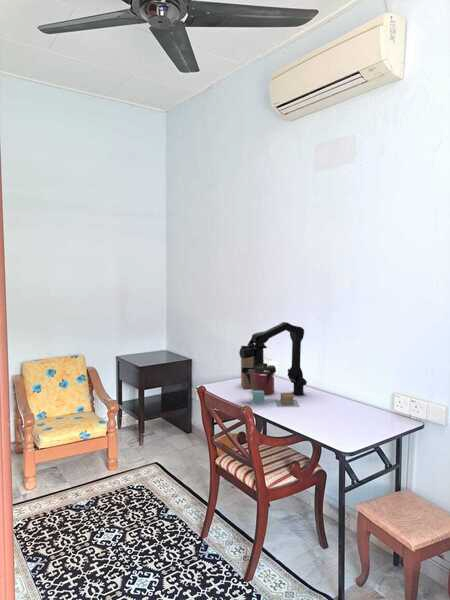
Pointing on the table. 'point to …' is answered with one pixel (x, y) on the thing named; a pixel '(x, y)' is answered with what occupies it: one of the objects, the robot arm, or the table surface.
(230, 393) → the table surface
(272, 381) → the canister
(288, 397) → the walnut block
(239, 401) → the table surface
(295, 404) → the mat
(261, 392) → the teal block
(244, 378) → the wooden block
